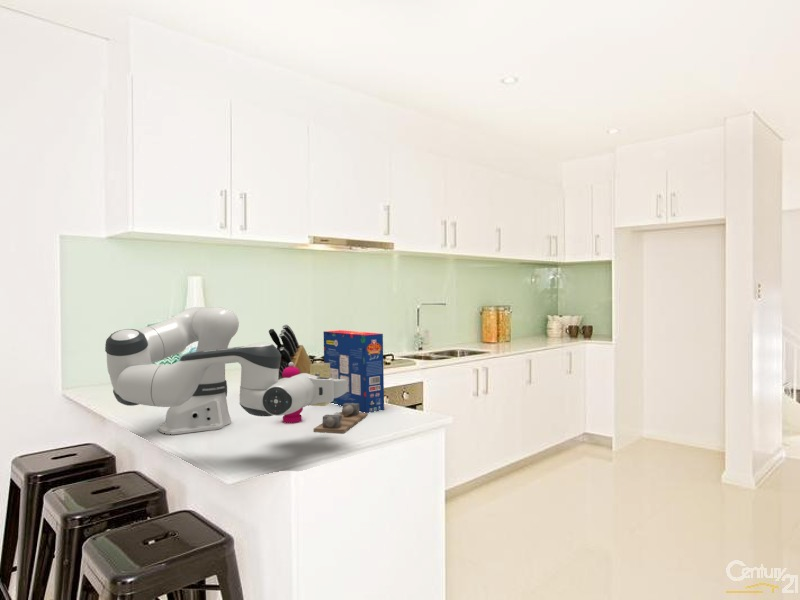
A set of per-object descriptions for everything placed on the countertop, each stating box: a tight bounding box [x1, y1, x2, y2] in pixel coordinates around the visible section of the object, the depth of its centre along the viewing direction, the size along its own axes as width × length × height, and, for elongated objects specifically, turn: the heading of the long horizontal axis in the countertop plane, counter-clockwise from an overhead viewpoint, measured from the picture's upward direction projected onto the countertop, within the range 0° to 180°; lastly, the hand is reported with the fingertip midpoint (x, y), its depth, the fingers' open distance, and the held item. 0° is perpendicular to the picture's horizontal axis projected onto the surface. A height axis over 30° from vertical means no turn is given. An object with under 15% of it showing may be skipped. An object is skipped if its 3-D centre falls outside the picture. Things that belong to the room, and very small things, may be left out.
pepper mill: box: [282, 362, 304, 424], centre depth 183 cm, size 7×7×20 cm
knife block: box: [268, 324, 313, 380], centre depth 225 cm, size 11×35×31 cm, turn 166°
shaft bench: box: [313, 403, 369, 434], centre depth 178 cm, size 24×10×4 cm, turn 166°
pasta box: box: [323, 329, 385, 414], centre depth 206 cm, size 28×8×28 cm, turn 39°
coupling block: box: [310, 362, 331, 407], centre depth 161 cm, size 5×4×12 cm
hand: (321, 381), depth 162 cm, fingers closed on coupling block, 4 cm apart
